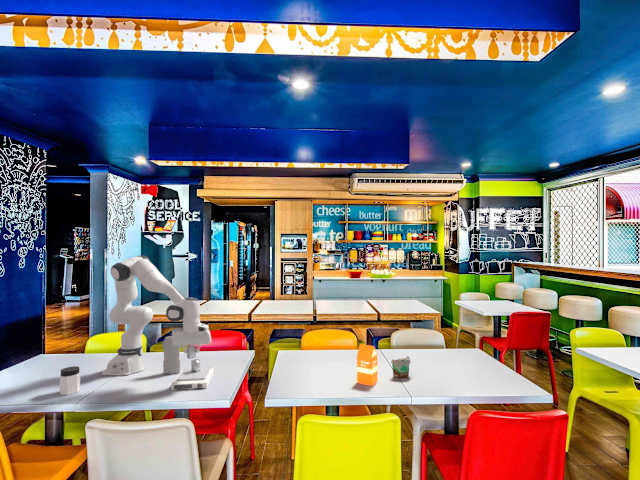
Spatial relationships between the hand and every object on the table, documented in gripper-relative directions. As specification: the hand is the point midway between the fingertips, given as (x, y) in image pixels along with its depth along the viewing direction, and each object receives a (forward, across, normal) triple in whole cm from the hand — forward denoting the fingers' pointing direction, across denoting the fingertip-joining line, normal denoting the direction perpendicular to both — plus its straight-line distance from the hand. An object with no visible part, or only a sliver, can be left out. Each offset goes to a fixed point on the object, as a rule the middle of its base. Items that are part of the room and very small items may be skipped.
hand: (191, 352), depth 196 cm
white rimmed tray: (+17, 0, +3) cm, 17 cm away
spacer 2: (+13, 0, +9) cm, 15 cm away
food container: (+17, +117, -7) cm, 119 cm away
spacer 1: (+2, 0, 0) cm, 2 cm away
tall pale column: (+17, -16, +19) cm, 30 cm away
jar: (+17, -61, -2) cm, 63 cm away
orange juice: (+17, +95, -11) cm, 98 cm away
